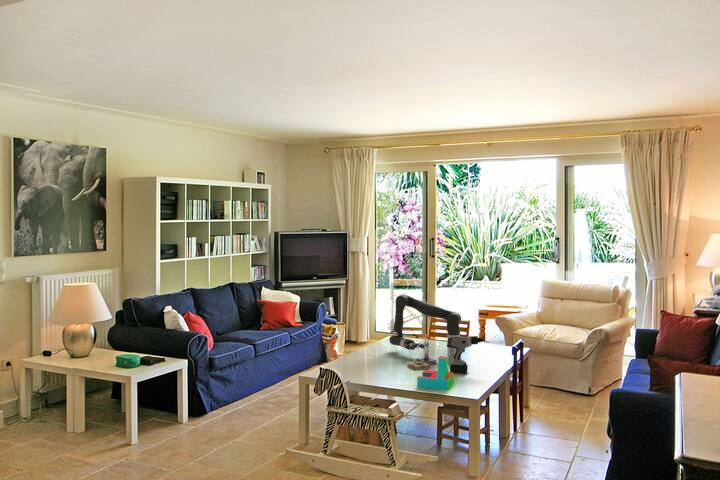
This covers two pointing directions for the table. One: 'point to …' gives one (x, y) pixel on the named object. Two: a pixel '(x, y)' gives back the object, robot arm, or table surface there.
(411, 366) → the rack block
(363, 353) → the table surface
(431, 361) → the grey flat square frame
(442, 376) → the building blocks toy
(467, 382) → the table surface
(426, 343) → the clear test tube
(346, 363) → the table surface
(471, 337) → the cordless drill
